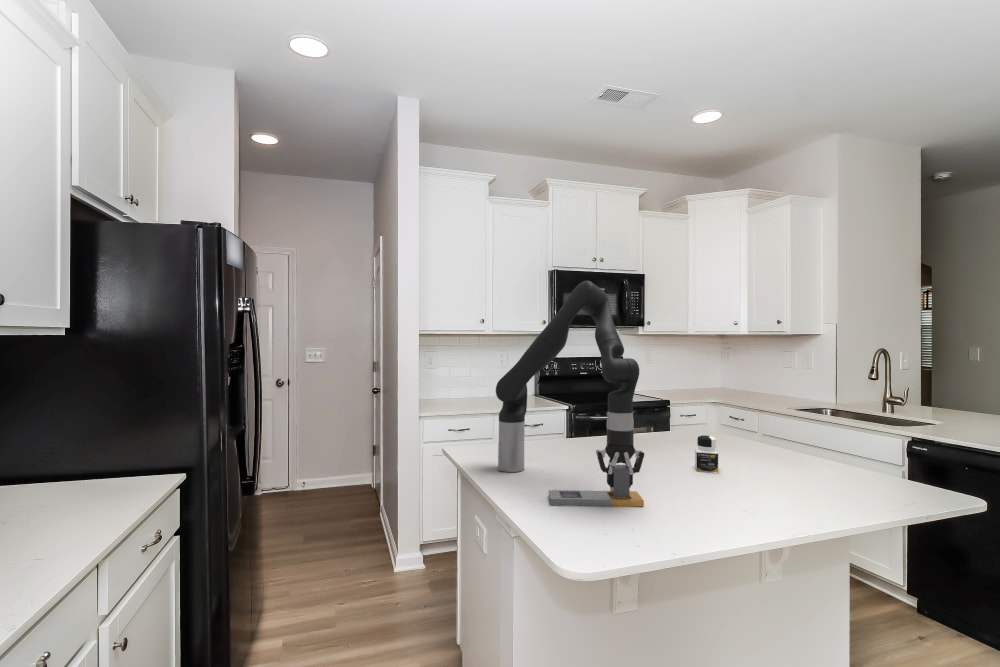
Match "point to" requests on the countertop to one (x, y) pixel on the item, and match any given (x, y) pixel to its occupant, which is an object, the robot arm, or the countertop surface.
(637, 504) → the rail
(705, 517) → the countertop surface
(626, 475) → the grey rectangular block
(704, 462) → the medicine bottle
